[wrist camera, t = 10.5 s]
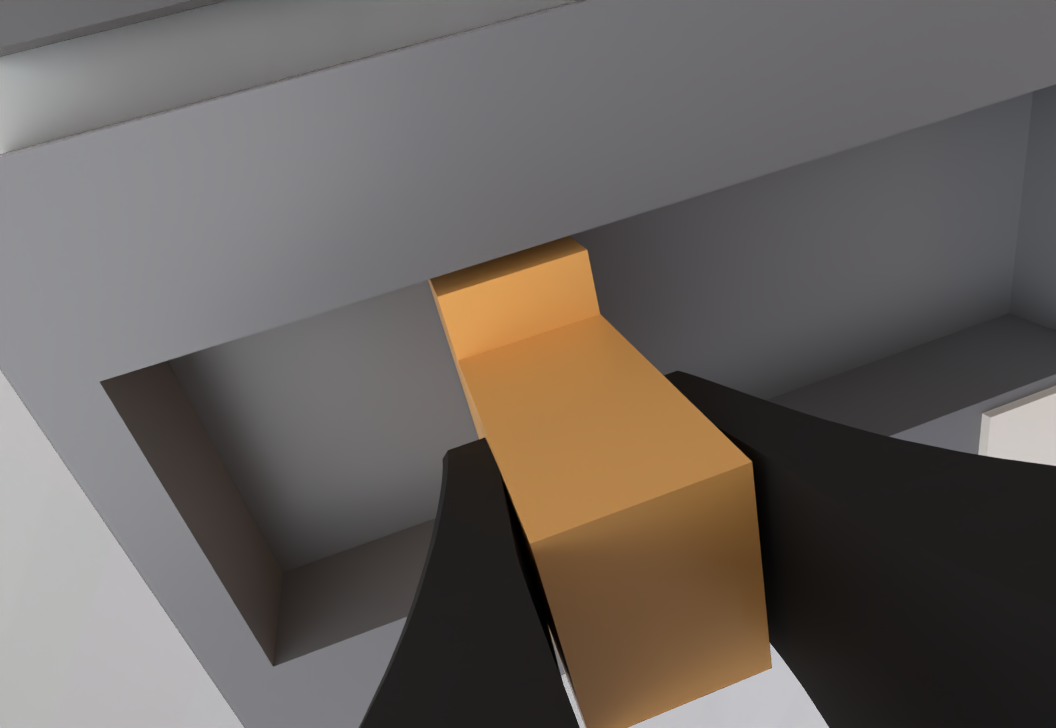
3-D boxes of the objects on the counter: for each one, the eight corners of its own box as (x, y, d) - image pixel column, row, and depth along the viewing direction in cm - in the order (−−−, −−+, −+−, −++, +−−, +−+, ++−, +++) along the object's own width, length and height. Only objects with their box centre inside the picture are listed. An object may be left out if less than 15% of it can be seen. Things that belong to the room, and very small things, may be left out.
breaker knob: (544, 217, 12) (743, 369, 6) (597, 451, 15) (777, 722, 9) (419, 255, 12) (502, 453, 6) (494, 488, 15) (607, 794, 8)
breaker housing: (1042, -276, 13) (1368, -432, 9) (976, 438, 21) (1133, 531, 17) (-94, -13, 11) (-376, -62, 6) (314, 690, 18) (308, 874, 14)
